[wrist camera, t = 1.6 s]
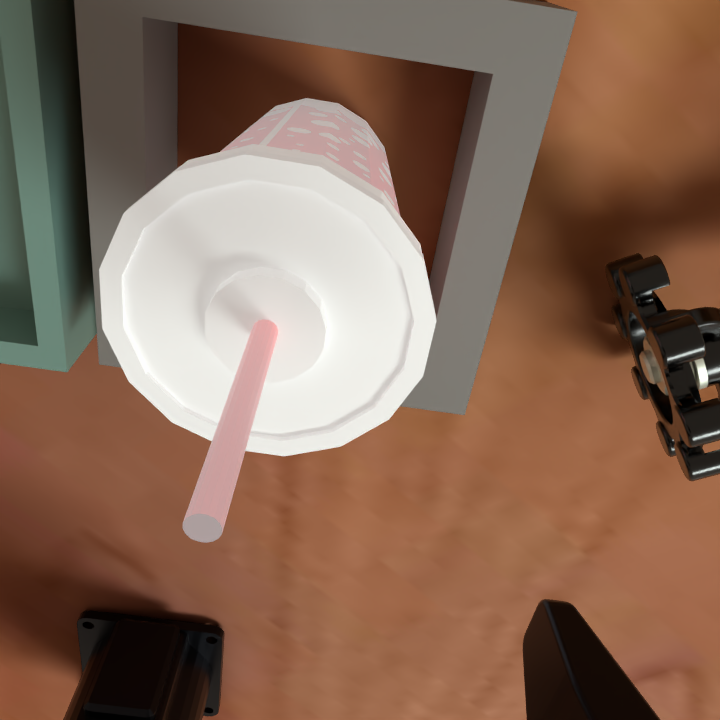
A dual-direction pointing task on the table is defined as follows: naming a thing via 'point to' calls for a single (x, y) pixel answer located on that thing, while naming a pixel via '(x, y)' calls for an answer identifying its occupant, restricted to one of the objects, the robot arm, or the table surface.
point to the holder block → (360, 34)
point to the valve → (671, 361)
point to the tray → (43, 190)
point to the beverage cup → (270, 295)
